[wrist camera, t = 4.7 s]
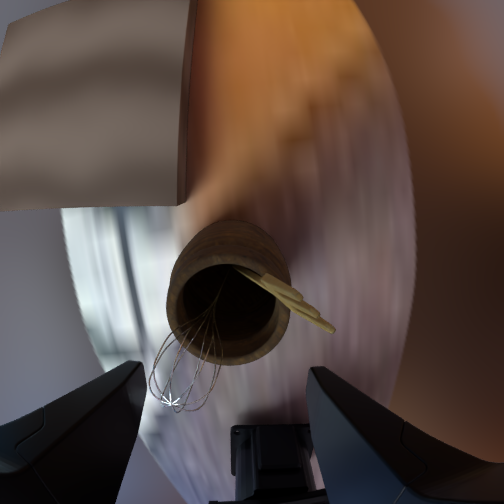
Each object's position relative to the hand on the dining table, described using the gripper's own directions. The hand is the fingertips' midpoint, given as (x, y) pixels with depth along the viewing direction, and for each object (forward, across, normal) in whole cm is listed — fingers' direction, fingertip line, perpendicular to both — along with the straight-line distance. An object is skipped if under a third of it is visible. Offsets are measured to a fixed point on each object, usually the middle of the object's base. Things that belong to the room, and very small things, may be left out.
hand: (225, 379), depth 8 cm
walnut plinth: (+11, +10, -11) cm, 19 cm away
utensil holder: (+11, 0, 0) cm, 11 cm away
